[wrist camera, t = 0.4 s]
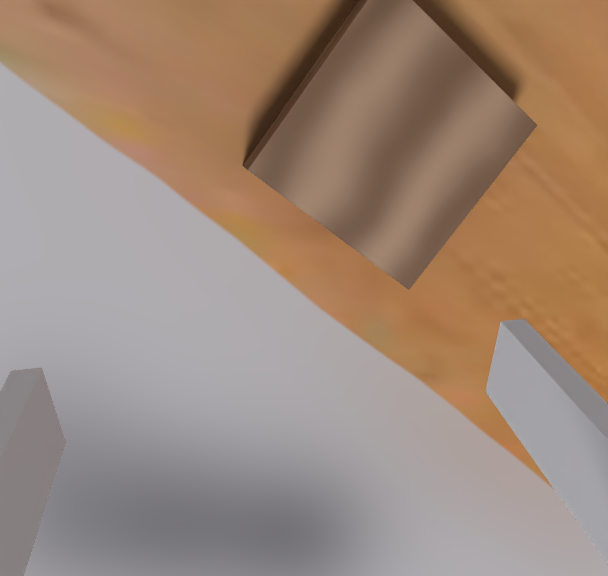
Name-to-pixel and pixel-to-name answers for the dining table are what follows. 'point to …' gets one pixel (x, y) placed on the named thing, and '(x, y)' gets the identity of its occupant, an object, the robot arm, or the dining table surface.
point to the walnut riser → (391, 137)
